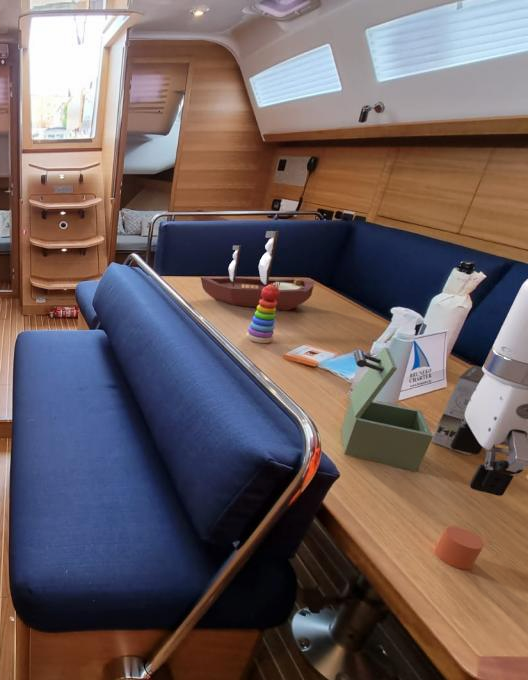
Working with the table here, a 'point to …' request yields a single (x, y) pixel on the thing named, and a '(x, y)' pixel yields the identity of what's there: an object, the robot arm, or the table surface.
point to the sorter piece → (458, 547)
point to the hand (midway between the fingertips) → (473, 469)
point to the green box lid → (371, 379)
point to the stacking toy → (264, 316)
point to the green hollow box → (387, 435)
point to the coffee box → (457, 407)
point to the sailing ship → (258, 283)
